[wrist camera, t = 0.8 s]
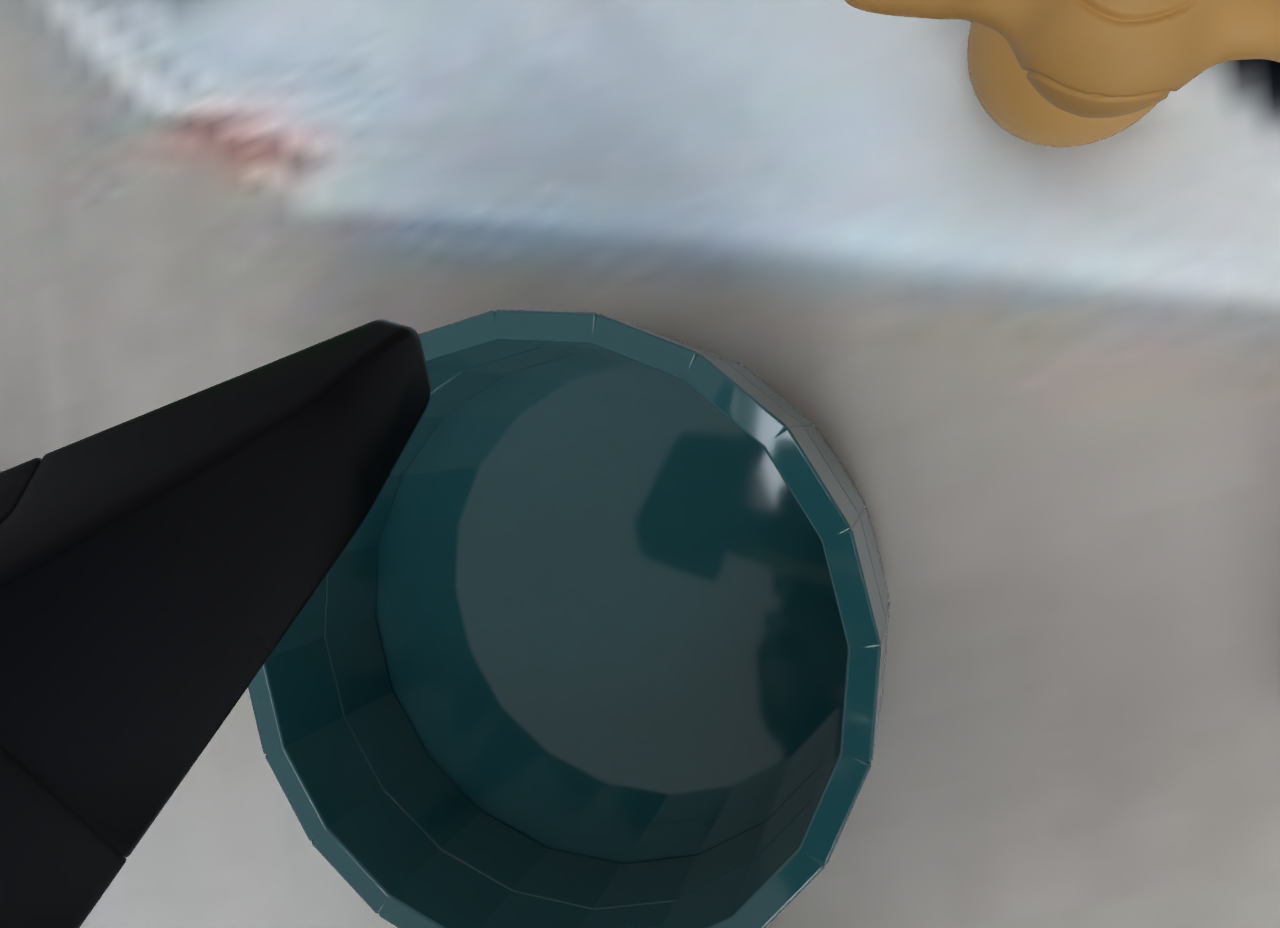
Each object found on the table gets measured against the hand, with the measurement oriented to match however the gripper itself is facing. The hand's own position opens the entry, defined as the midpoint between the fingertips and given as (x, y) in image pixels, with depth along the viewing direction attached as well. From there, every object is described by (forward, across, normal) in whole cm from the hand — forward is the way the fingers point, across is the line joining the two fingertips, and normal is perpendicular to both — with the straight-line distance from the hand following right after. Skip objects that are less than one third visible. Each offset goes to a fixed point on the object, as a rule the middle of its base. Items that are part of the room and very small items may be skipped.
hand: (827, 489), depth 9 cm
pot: (+6, +6, +13) cm, 16 cm away
